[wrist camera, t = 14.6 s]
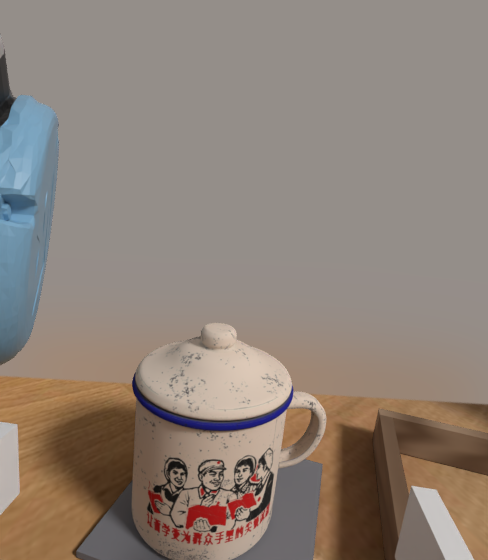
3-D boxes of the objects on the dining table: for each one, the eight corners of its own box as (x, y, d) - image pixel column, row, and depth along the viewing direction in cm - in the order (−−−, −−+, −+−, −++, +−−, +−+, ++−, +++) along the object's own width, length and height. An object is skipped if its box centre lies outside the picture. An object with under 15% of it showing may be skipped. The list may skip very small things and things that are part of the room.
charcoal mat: (76, 557, 20) (76, 550, 20) (176, 428, 31) (176, 424, 31) (303, 645, 17) (305, 639, 17) (321, 468, 28) (322, 464, 28)
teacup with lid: (122, 588, 18) (131, 365, 15) (130, 458, 26) (137, 301, 24) (345, 552, 21) (383, 361, 19) (288, 446, 30) (308, 306, 27)
